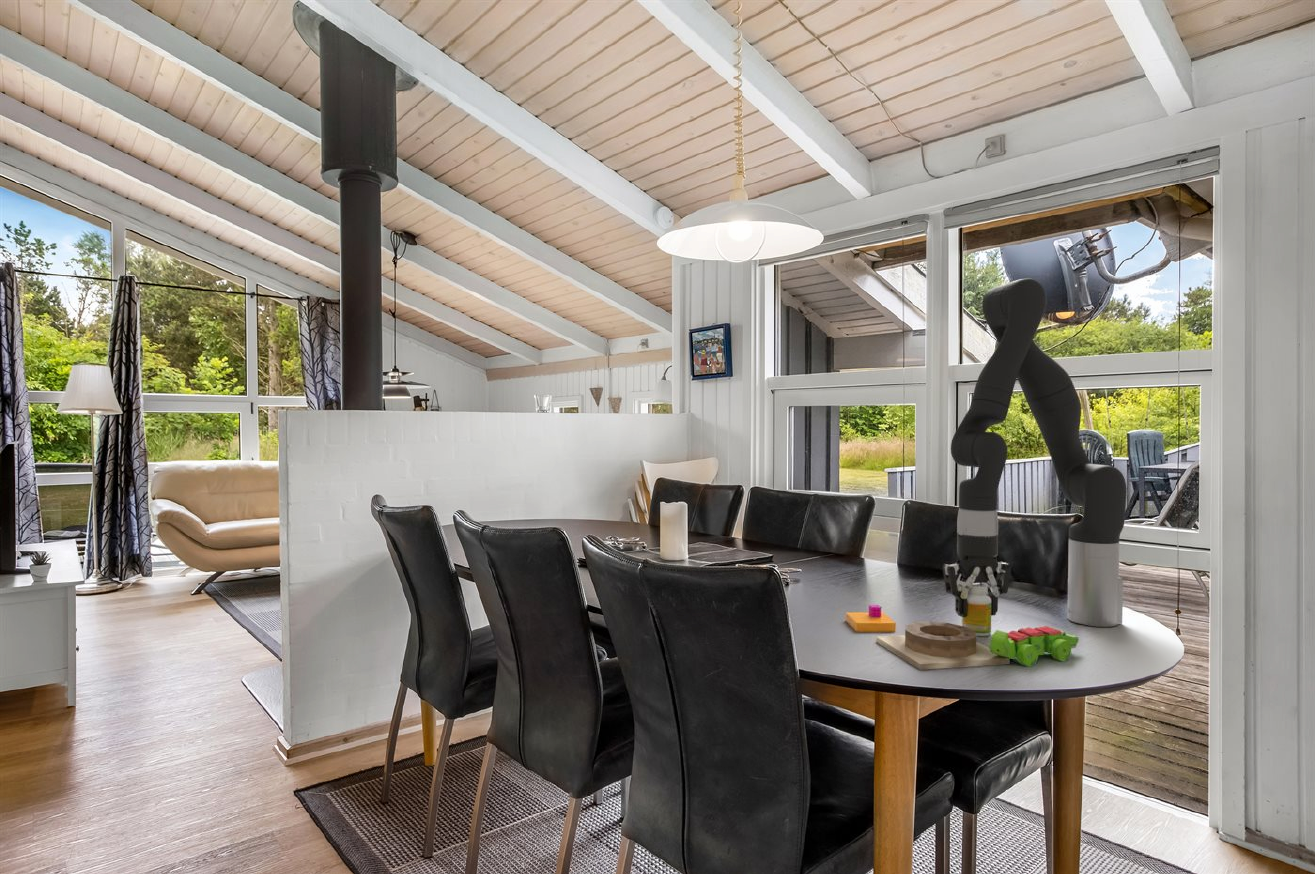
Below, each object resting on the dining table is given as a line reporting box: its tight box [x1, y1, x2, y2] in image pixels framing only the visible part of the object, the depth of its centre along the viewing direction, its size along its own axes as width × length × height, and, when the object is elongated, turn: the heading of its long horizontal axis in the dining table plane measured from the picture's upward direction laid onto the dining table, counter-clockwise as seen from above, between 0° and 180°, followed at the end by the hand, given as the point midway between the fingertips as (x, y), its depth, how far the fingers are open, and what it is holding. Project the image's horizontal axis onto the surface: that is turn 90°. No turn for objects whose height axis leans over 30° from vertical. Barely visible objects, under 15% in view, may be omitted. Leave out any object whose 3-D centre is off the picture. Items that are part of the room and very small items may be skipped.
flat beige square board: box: [875, 634, 1011, 671], centre depth 136 cm, size 17×16×1 cm
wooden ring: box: [904, 621, 977, 658], centre depth 136 cm, size 12×12×3 cm
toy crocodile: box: [989, 626, 1079, 667], centre depth 133 cm, size 20×7×6 cm, turn 111°
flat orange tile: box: [845, 604, 897, 633], centre depth 154 cm, size 8×8×4 cm
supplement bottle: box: [961, 582, 992, 637], centre depth 149 cm, size 5×5×10 cm
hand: (976, 614), depth 149 cm, fingers open, 5 cm apart
